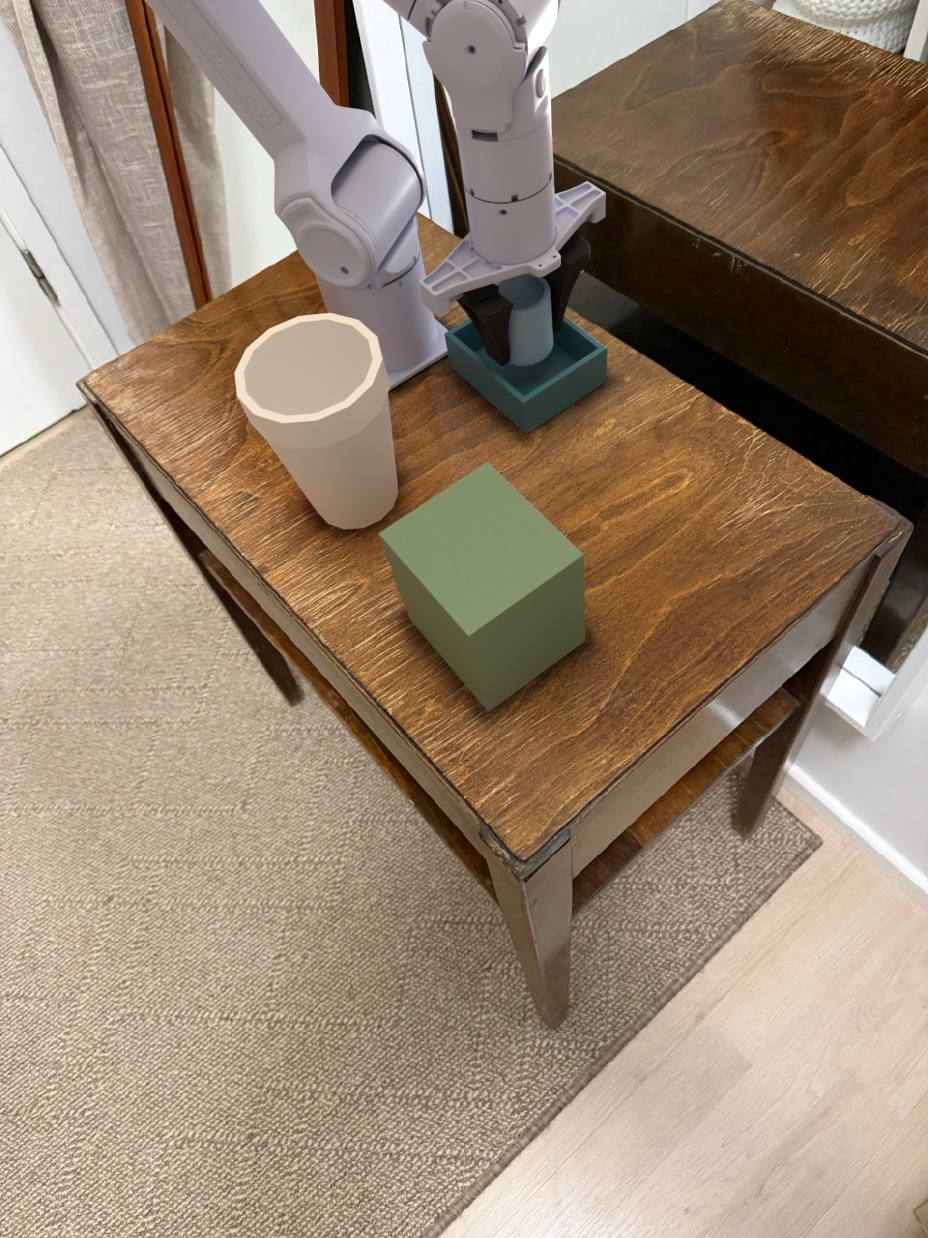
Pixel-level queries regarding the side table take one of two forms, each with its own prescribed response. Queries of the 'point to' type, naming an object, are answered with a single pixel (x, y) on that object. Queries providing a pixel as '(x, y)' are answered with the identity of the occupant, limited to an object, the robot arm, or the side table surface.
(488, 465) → the sage green cube
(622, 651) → the side table surface
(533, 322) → the blue cup
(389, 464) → the foam cup
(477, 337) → the bin
